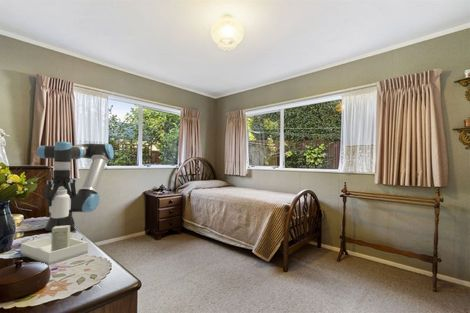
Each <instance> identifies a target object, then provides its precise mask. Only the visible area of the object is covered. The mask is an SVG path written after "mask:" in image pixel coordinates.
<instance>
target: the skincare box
mask: <svg viewBox="0 0 470 313" xmlns="http://www.w3.org/2000/svg"><path fill="white" fill-rule="evenodd" d="M51 236H52V246H51V252H52V251H56V250H60V249H63V248H67V247H70V238H71V229H70V225H66V226H55V227H53V228H52V231H51Z"/></svg>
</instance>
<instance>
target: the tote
mask: <svg viewBox="0 0 470 313" xmlns="http://www.w3.org/2000/svg"><path fill="white" fill-rule="evenodd" d="M51 246H52V235H51V236H47V237H44V238H38V239H34V240H29V241H25V242H21V243H20V253H19V254H20V255H21V256H24V257H27V258H28V259H31V260H34V261H36V262H40V263H42V262H43V263H42V264H44V263H46V264H45V265H47V266H51V265H53V264H54V265H55V264H57V263H60V262H63V261H66V260H70V259H73V258H75V257H78V256H81V255H85V254H88V253H89V252H88V251H89V242H88V241H84V240H80V239H77V238H73V237H70V247H67V248H63V249H60V250H56V251H52V252H51Z"/></svg>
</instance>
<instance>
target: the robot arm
mask: <svg viewBox="0 0 470 313" xmlns="http://www.w3.org/2000/svg"><path fill="white" fill-rule="evenodd" d="M36 155H37V157H38V158H40V159H48V160H49V159H53V172H52V176H53V178H52V179H50V180H46V181H45V183H46V186H45V191H44V195H43V199H44V200H46V201H47V206H48V212H49V218H48V221H47V222H46V225H45V231H47V232H52V228H53V227H55V226H66V225H70V230H72V229H74V228H75V227H76V222H75V220H74V217H73V213H92V212H94V211H95V210H96V209H97V208H98V206H99V203H100V196H99V195H98V192H97V189H98V188H99V187H98V186H99V184H100V181H101V179H102V175H103V172H104V169H105V167H106V165H107V164H108V163H109V161H110V160H113V159H114V157H115V156H114V155H115V151H114V148H113V146H112V144H109V143H108V144H107V143H81V144H76V145H72V143H71V142H69V141H55V142H54V145H40V146H38V147H37V148H36ZM82 158H83V159H91V164H90V167H89V169H88V172H87V175H86V177H85V180H84V183H83V185H82V188H80V189H78V191H77V189H76V181H77V180H76V179H71V162H72V161H71V160H79V159H82ZM69 184H70V185H69ZM60 187H63V189H67V193H66V194H68V195H69V196H70V200H69V215H68V216H67V217H64V218H51V213H53V211H54V200H52V199H53V197H54V195H55V193H56V191H57V189H60ZM51 189H52V190H51Z"/></svg>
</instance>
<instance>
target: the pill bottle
mask: <svg viewBox="0 0 470 313" xmlns="http://www.w3.org/2000/svg"><path fill="white" fill-rule="evenodd" d="M66 193H67V189H65V188H58V189H57V191H56V193H55V195H54V197H53V199H52V200H54V211H53V213H51V218H64V217H67V216H68V215H69V200H70V196H69V195H68V194H66Z"/></svg>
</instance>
